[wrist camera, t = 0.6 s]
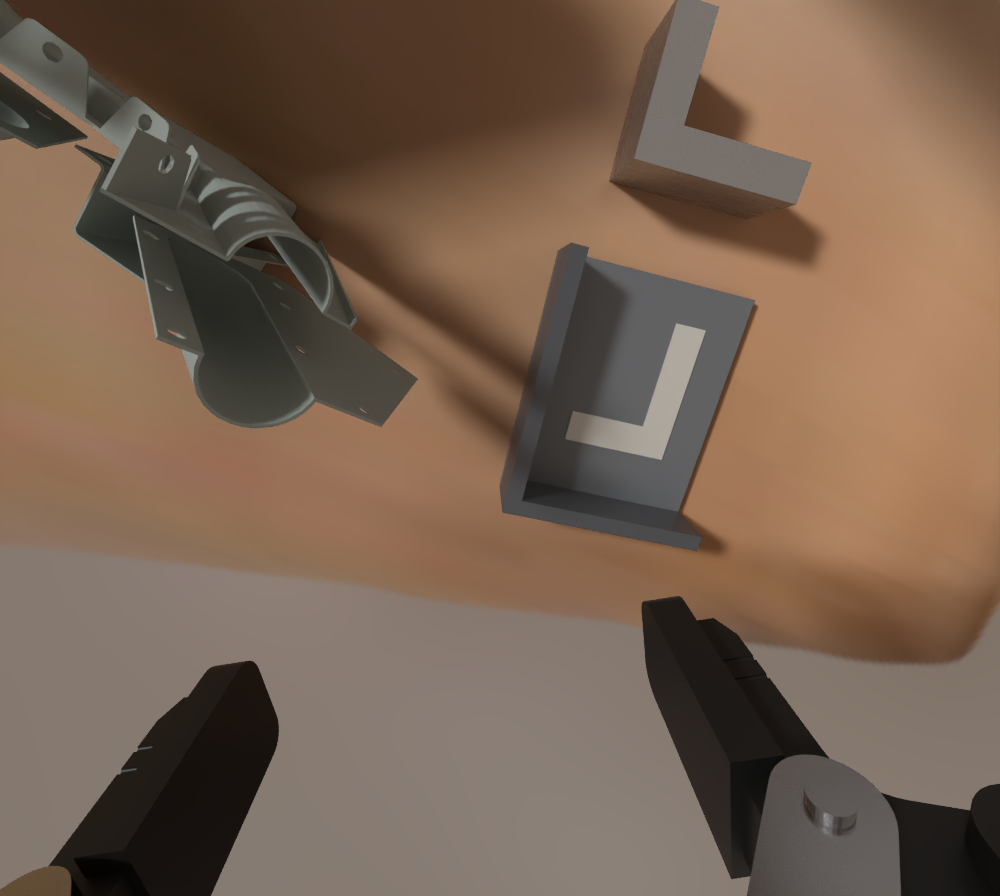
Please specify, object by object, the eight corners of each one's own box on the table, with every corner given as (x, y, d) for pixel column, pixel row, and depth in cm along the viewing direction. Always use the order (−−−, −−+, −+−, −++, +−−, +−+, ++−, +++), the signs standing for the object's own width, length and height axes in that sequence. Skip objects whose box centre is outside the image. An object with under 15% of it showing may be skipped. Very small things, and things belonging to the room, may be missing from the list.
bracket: (460, 320, 32) (431, 354, 13) (398, 406, 33) (286, 555, 14) (39, -9, 26) (-1205, -876, 7) (-15, 113, 27) (-1162, -318, 8)
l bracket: (609, 181, 30) (634, 158, 25) (644, 46, 28) (679, -7, 23) (746, 219, 31) (796, 204, 26) (790, 91, 29) (852, 50, 24)
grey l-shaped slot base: (557, 250, 31) (571, 242, 26) (750, 300, 32) (793, 300, 28) (499, 485, 35) (502, 512, 31) (670, 520, 36) (697, 551, 32)
